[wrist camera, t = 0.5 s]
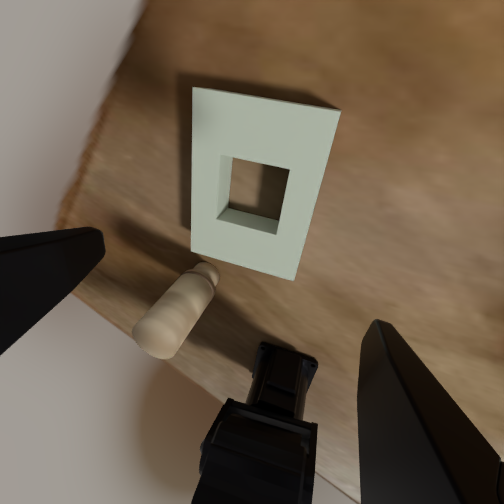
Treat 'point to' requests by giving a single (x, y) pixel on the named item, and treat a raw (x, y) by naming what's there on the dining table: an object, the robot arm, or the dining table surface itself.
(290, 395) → the robot arm
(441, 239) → the dining table surface
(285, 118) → the board
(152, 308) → the peg
